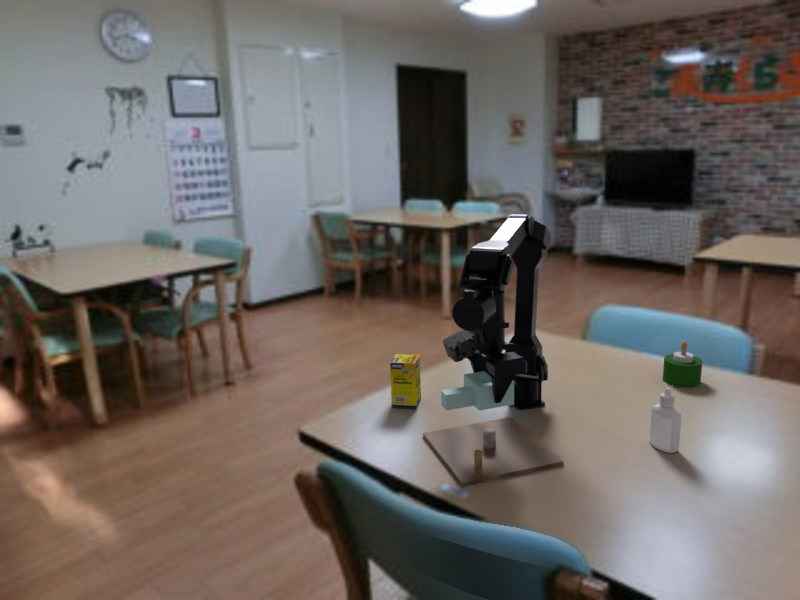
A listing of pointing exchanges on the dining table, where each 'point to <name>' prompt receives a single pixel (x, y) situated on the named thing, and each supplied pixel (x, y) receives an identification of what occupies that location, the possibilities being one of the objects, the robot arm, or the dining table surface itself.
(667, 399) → the eye dropper bottle
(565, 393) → the dining table surface
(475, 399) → the collar
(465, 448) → the board
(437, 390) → the dining table surface
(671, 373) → the candle
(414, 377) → the supplement box
